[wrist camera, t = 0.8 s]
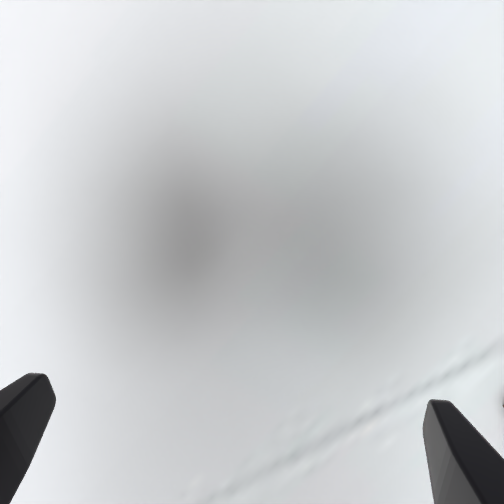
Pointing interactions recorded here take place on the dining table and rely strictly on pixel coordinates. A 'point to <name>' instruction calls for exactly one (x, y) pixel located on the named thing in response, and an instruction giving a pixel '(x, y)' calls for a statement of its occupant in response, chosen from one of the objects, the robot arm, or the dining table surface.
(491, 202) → the dining table surface
